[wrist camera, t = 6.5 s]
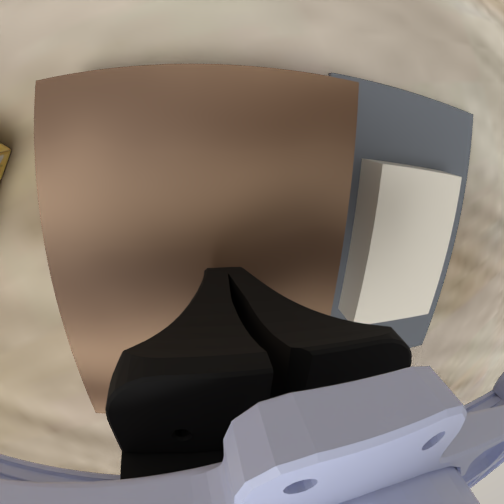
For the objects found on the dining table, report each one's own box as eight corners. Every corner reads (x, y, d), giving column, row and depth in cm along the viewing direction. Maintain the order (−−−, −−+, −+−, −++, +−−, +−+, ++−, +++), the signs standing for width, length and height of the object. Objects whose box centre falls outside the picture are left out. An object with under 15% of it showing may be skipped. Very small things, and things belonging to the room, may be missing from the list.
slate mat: (419, 342, 23) (421, 344, 22) (296, 366, 20) (297, 369, 20) (470, 114, 16) (473, 114, 15) (328, 73, 14) (331, 72, 13)
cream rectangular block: (352, 326, 17) (338, 308, 19) (428, 313, 18) (411, 299, 20) (382, 163, 14) (361, 158, 15) (461, 177, 15) (439, 170, 17)
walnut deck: (290, 356, 20) (310, 400, 16) (106, 365, 18) (96, 412, 14) (318, 90, 14) (359, 82, 10) (71, 89, 12) (35, 80, 8)
